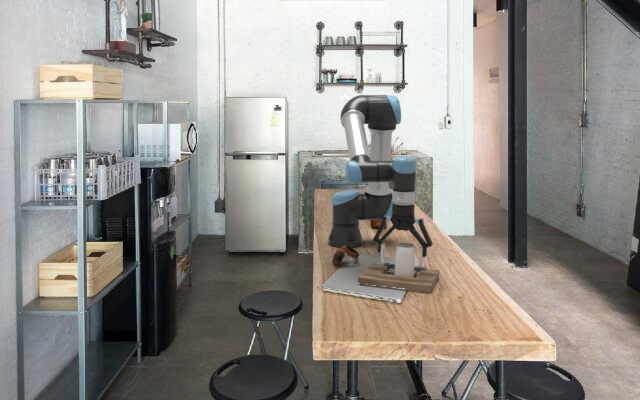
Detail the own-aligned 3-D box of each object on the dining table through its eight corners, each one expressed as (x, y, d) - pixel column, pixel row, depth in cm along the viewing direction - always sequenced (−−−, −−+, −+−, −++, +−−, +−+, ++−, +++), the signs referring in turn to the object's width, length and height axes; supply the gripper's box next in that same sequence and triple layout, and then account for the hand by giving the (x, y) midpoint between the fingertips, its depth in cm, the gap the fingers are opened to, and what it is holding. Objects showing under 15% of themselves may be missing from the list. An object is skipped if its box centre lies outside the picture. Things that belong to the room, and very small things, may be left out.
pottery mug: (336, 260, 207) (347, 243, 206) (354, 274, 203) (365, 257, 202) (322, 260, 197) (333, 241, 196) (341, 275, 193) (352, 256, 191)
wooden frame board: (372, 270, 193) (372, 263, 193) (439, 277, 184) (439, 270, 184) (357, 284, 176) (358, 277, 176) (430, 293, 168) (430, 285, 167)
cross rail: (385, 271, 192) (385, 262, 191) (426, 275, 186) (426, 267, 186) (383, 272, 190) (384, 264, 189) (425, 277, 185) (425, 268, 184)
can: (401, 274, 187) (403, 241, 185) (417, 278, 183) (419, 245, 181) (390, 278, 183) (392, 244, 181) (405, 282, 178) (407, 248, 176)
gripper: (364, 202, 180) (363, 262, 184) (438, 207, 171) (436, 270, 175) (371, 199, 187) (369, 257, 190) (442, 203, 178) (439, 264, 181)
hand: (401, 263), depth 183 cm, fingers open, 13 cm apart
